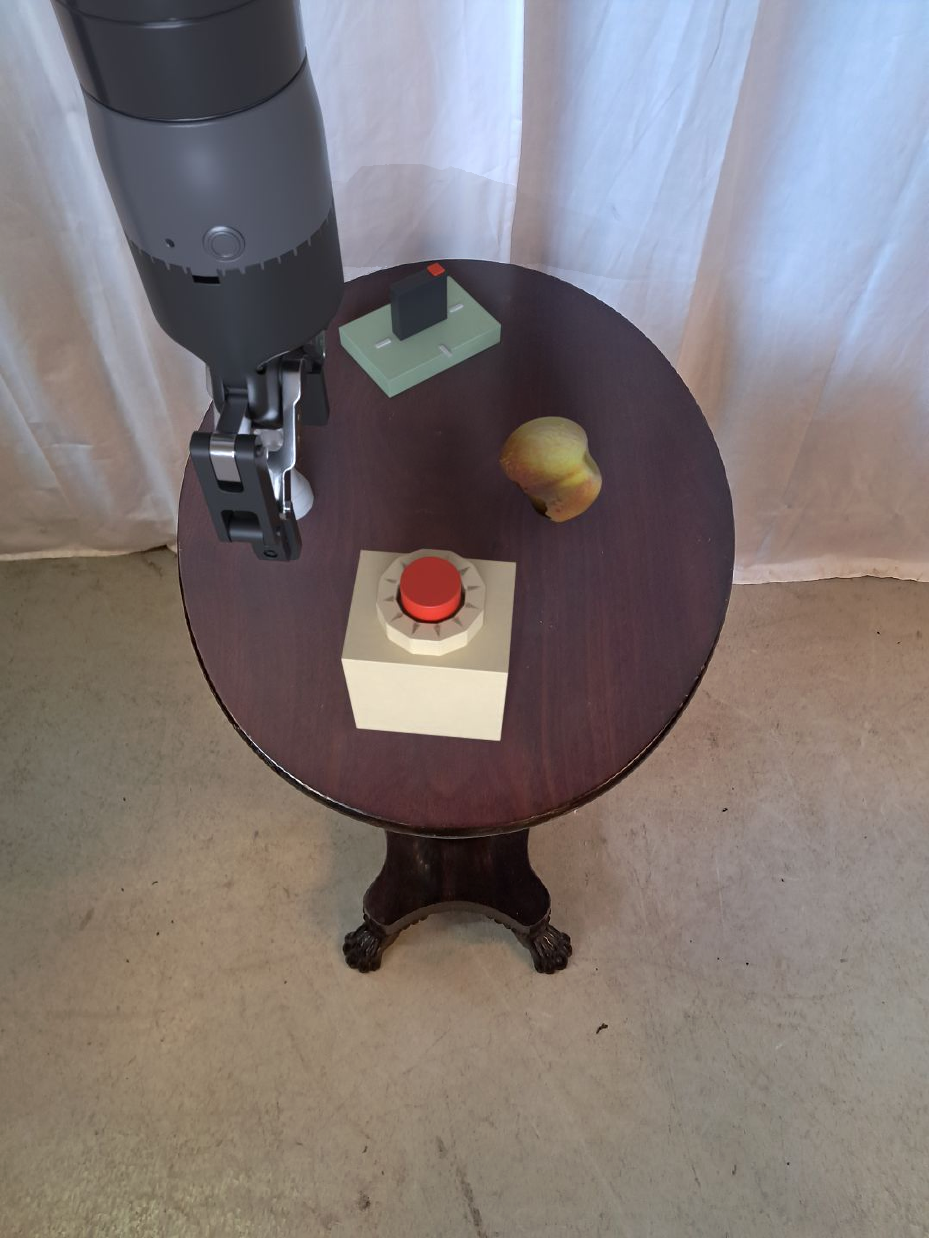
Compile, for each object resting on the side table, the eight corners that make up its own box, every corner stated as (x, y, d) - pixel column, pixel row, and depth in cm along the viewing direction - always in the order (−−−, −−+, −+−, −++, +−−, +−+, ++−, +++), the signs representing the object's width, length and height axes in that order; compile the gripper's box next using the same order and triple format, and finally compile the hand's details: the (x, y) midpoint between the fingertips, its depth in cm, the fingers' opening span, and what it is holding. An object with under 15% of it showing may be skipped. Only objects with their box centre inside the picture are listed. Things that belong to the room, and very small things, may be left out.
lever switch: (393, 402, 79) (392, 384, 77) (337, 341, 82) (334, 322, 81) (504, 346, 82) (505, 327, 81) (445, 289, 86) (445, 270, 84)
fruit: (575, 555, 71) (588, 490, 64) (479, 517, 72) (481, 450, 66) (610, 486, 74) (626, 418, 67) (518, 452, 76) (524, 382, 69)
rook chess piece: (286, 473, 75) (269, 403, 68) (326, 501, 73) (313, 433, 66) (246, 506, 73) (225, 438, 66) (286, 535, 71) (268, 469, 64)
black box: (401, 341, 80) (397, 292, 75) (392, 332, 80) (388, 283, 76) (447, 319, 81) (447, 269, 77) (438, 310, 82) (437, 260, 77)
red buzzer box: (356, 728, 63) (337, 644, 53) (372, 629, 67) (358, 533, 57) (500, 741, 63) (509, 659, 52) (507, 640, 67) (518, 545, 56)
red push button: (397, 620, 54) (396, 604, 53) (405, 569, 56) (403, 553, 54) (457, 625, 54) (458, 609, 52) (463, 574, 56) (463, 558, 54)
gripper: (169, 73, 36) (250, 377, 50) (57, 325, 29) (189, 598, 42) (359, 83, 35) (386, 386, 49) (295, 340, 28) (348, 610, 42)
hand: (295, 484), depth 46 cm, fingers open, 8 cm apart
